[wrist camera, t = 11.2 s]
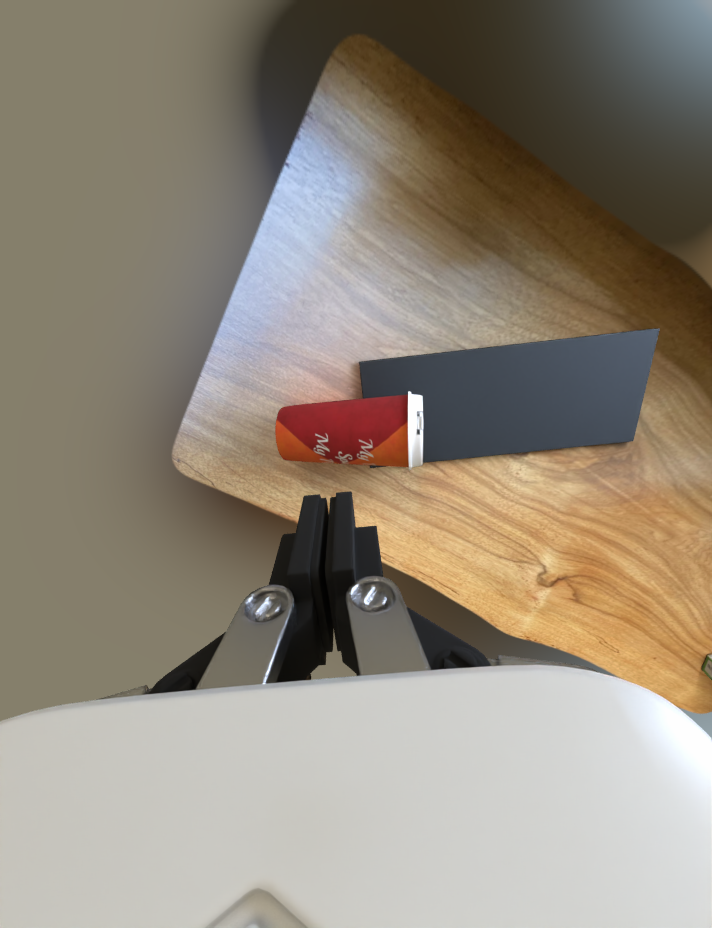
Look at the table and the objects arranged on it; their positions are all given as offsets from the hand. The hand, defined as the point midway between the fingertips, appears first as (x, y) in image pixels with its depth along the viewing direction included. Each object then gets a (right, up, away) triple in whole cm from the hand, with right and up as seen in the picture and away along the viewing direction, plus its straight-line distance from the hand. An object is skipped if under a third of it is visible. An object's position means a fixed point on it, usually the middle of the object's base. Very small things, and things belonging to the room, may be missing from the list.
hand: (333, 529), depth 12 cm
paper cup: (-7, +5, +24) cm, 26 cm away
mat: (+17, +9, +26) cm, 32 cm away
